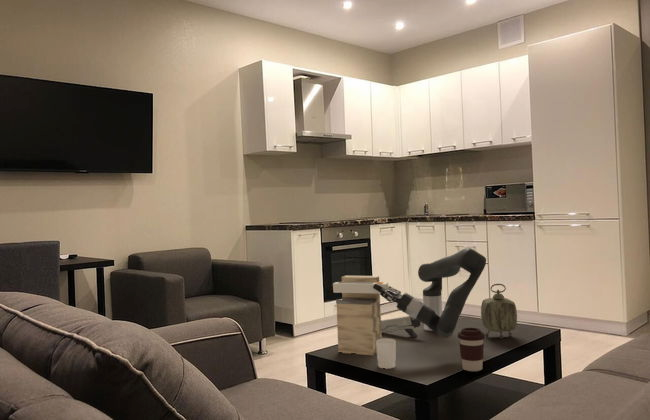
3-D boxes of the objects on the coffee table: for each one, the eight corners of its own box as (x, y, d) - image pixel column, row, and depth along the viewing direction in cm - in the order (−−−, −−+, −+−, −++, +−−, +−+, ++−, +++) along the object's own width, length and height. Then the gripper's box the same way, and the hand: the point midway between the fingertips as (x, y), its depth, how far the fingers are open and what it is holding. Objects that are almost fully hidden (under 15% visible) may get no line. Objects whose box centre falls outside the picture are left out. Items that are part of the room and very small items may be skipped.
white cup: (373, 365, 211) (372, 340, 211) (390, 362, 214) (389, 337, 214) (382, 370, 204) (381, 344, 203) (400, 367, 207) (399, 341, 207)
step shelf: (348, 345, 242) (345, 275, 242) (381, 348, 236) (379, 276, 235) (338, 352, 231) (335, 279, 231) (372, 355, 224) (370, 280, 224)
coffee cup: (456, 365, 206) (455, 326, 206) (482, 364, 206) (480, 326, 206) (462, 373, 196) (460, 332, 196) (489, 372, 196) (487, 332, 196)
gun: (422, 336, 249) (416, 315, 250) (377, 342, 264) (373, 322, 265) (424, 335, 251) (419, 314, 252) (380, 341, 266) (375, 321, 267)
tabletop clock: (512, 334, 250) (510, 281, 250) (519, 339, 241) (517, 284, 241) (481, 335, 251) (479, 283, 250) (487, 340, 241) (485, 285, 241)
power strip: (336, 291, 237) (336, 281, 237) (388, 292, 227) (388, 281, 227) (333, 292, 233) (332, 282, 233) (385, 293, 223) (385, 283, 223)
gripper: (418, 295, 227) (384, 275, 233) (410, 301, 214) (374, 279, 220) (410, 310, 229) (377, 289, 234) (401, 316, 215) (366, 294, 221)
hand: (375, 284), depth 227 cm, fingers closed on power strip, 4 cm apart
